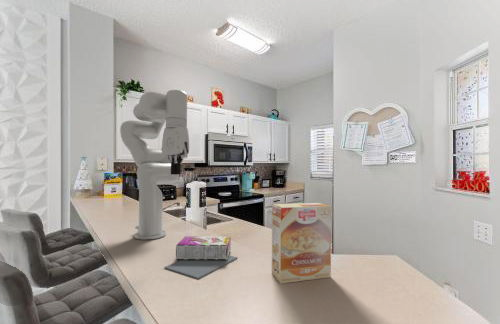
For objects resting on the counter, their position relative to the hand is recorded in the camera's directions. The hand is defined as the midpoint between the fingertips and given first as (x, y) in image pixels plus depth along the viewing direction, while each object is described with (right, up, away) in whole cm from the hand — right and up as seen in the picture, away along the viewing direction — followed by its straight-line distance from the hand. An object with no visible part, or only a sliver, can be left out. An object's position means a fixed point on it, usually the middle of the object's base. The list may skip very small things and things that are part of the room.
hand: (175, 174), depth 92 cm
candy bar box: (+4, -24, -8) cm, 26 cm away
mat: (+13, -27, -15) cm, 33 cm away
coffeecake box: (+41, -27, -23) cm, 54 cm away
